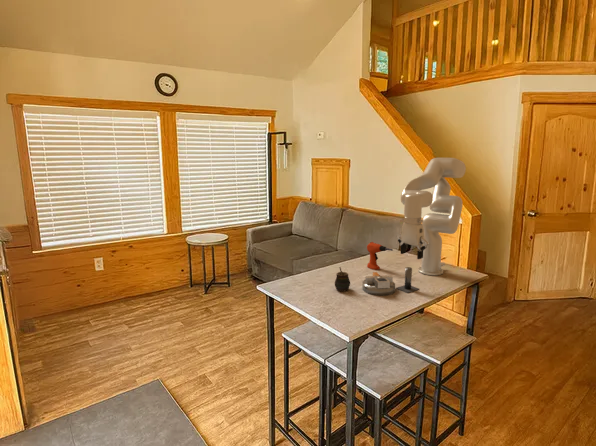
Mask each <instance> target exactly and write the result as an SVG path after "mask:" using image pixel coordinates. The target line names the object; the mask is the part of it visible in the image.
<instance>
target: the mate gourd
mask: <svg viewBox="0 0 596 446" xmlns="http://www.w3.org/2000/svg"><path fill="white" fill-rule="evenodd" d="M338 268H339V270H340V271H338V272H336V274H335V275H336V276H335V277H336V279H335V281H334V287H335V289H336V290H337V291H338V292H346V291H348V290H349V289H350V287H351V280H350V278H349V273H348V272H346V271H342V268H341V266H340V267H338Z"/></svg>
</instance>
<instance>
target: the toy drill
mask: <svg viewBox="0 0 596 446" xmlns="http://www.w3.org/2000/svg"><path fill="white" fill-rule="evenodd" d="M366 250H367V251H368V252H369V262H368V263H367V266H366V267H367V268H368V269H370V270H373V271H377V270H380V268H381V266H379V264H378V263H377V260H378V259H379V257H378V255H377V253H380V252H385V251H394V249H393V248H388V247H387V246H384V245H381V244H379V243H375V242H373V241H371V242H370V243H369V242H368V244H367V245H366Z"/></svg>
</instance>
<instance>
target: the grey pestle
mask: <svg viewBox="0 0 596 446" xmlns="http://www.w3.org/2000/svg"><path fill="white" fill-rule="evenodd" d="M404 269H405V270H404V285H405V287H404V288H405V289H408V290H409V289H411V286H412V281H413V279H412V277H413V275H412V274H413V268H412V267H410V266H406V267H405V268H404Z"/></svg>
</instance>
